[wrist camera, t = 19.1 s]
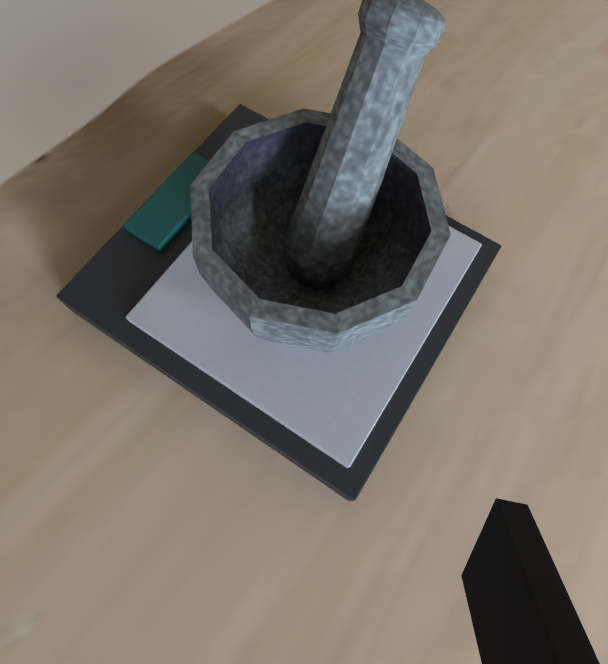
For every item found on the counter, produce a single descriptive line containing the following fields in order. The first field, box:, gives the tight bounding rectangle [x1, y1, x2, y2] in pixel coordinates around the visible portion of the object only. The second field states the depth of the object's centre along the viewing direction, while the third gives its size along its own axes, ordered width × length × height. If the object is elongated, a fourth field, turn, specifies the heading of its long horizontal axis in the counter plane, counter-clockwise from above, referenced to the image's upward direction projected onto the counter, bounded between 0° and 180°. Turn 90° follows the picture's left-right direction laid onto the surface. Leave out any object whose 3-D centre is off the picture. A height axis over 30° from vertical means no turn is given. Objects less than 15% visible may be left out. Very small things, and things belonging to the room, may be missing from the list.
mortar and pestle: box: [190, 0, 451, 353], centre depth 18 cm, size 11×9×12 cm
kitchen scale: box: [57, 104, 501, 501], centre depth 25 cm, size 18×16×3 cm
